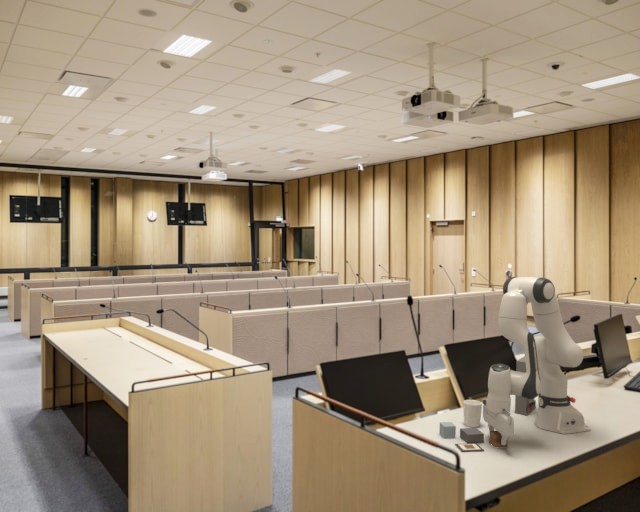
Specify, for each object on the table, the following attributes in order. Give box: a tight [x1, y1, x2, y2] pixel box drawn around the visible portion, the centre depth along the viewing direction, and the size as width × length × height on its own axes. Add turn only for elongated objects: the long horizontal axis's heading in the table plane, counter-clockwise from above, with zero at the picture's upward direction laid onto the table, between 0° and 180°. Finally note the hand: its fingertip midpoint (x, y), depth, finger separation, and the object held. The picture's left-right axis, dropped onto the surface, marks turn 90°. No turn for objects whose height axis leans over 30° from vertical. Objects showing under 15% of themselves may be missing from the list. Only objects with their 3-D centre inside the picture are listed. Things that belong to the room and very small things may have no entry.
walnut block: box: [489, 430, 508, 449], centre depth 210 cm, size 5×5×5 cm
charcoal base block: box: [459, 427, 485, 445], centre depth 214 cm, size 7×7×4 cm
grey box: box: [514, 355, 537, 416], centre depth 252 cm, size 14×6×25 cm, turn 143°
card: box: [454, 443, 485, 453], centre depth 206 cm, size 9×7×1 cm
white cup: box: [462, 399, 483, 428], centre depth 232 cm, size 8×8×10 cm
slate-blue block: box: [439, 421, 457, 439], centre depth 218 cm, size 5×5×5 cm
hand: (497, 439), depth 210 cm, fingers open, 8 cm apart
